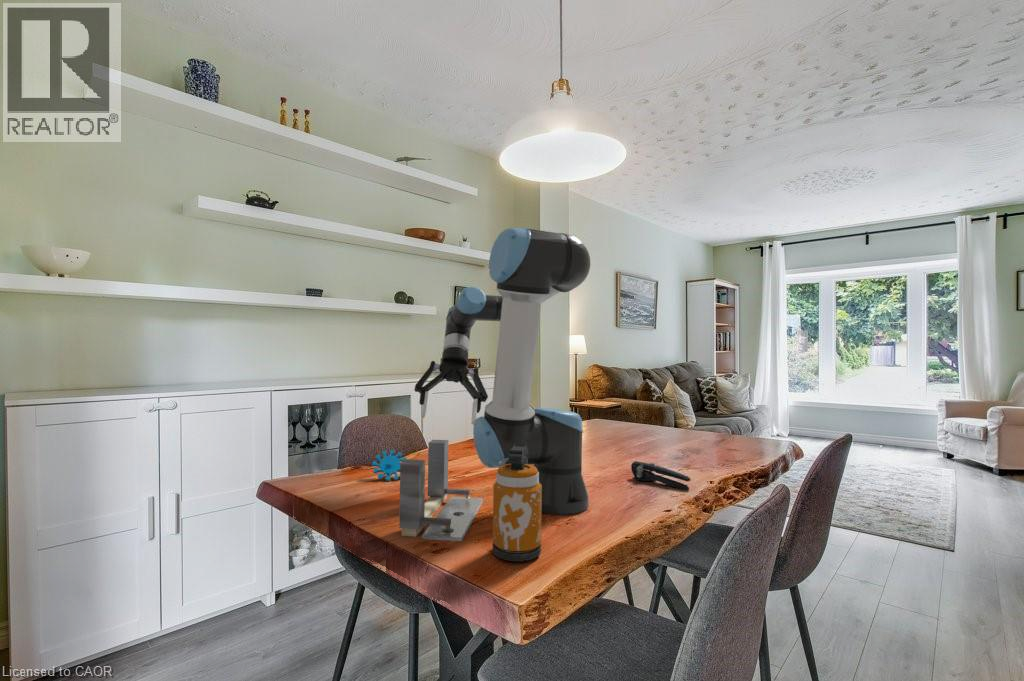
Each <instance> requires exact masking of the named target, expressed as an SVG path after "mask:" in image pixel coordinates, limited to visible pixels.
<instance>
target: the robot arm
mask: <svg viewBox="0 0 1024 681" xmlns="http://www.w3.org/2000/svg"><path fill="white" fill-rule="evenodd" d="M488 269H489V276H490V279H491V280H492V281H493V282H495V283H496V291H497V292H498V293H499V294H500V295H491V294H490V295H489V294H488V295H487V294H485V293H484V291H483V290H481V289H480V288H477V287H475V286H467V287H465V288H464V289H463V290H462V291H460V293H459V295H458V297H457V299H456V300H455V304H454V305H453V306H451V307H449V309H448V310H447V316H446V318H445V320H446V321H445V322H446V323H445V331H444V340H443V348H442V354H441V355H442V356H441V363H436V361H435V360H432V361H430V364H429V367H428V369H426V371H425V372H424V373H423V374H422V376H421V377H420V378H419V379H418V381H417V382H416V384H415V386H414V392H416V393H419V396H420V397H419V401H418V402H419V405H421V406H422V410H421V418H423V419H424V418H425V416H426V413H427V406H428V397H429V391H431V390H432V389H433V388H435V387H436V386H437V385H438V384H440V383H441V382H443V381H444V380H446V381H447V382H454V383H460V385H462V386H463V387H464V388H465V389H466V391H467V392H468V394H469V395H470V397H472V399H473V401H472V409H471V411H472V412H471V425H472V426H473V427H472V428H473V430H472V431H473V433H472V434H473V442H474V445H475V446H474V447H475V450H476V453H477V457H478V459H479V460H480V462H481V463H482V465H483V466H485V467H486V468H489V469H499V467H500V466H502V465H505V464H511V463H510V460H509V461H507V462H505V463H502V464H499V462H500V461H502V460H504V459H506V458H508V456H509V454H510V449H512V448H513V446H514V443H515V445H516V446H519V447H525V444H526V445H527V449H528V464H529V465H532V466H534V467H536V468H537V470H538V472H539V483H540V484H541V485H542V506H541V514H542V513H543V514H548V515H573V514H574V515H576V514H580V513H582V512H584V511H586V510H588V509H589V503H590V502H589V500H590V499H589V497H590V496H589V493H588V490H587V487H586V482H585V481H584V476H583V473H582V472H583V470H582V467H583V466H582V465H583V464H582V463H583V461H582V460H583V433H584V430H583V420H582V417H581V415H580V414H579V413H576V412H574V411H570V410H565V409H558V408H557V409H556V408H550V407H535V408H534V409H533V407H532V406H531V404H530V402H531V394H532V386H533V379H534V378H533V377H534V368H535V361H536V354H537V353H536V352H537V341H538V334H539V325H540V317H541V307H542V304H543V303H544V302H546V301H548V300H550V299H551V298H553V297H554V296H556V295H558V294H559V293H568V292H571V291H573V290H574V289H575V288H578V287H579V286H580V285H582V283H583V282H584V281H585V280H586V278H587V277H588V275H589V274H590V273H589V272H590V269H591V256H590V253H589V251H588V248H587V247H586V245H585V244H584V243H583V242H582V241H581V240H580V239H578V238H577V237H576V236H573V235H572V234H568V233H562V232H555V231H554V232H553V231H547V230H546V231H545V230H541V229H534V228H526V227H508V228H505V229H504V230H502V231H501V232H500V233H499V234H498V236H497V237H496V239H495V241H494V242H493V245H492V248H491V251H490V255H489V260H488ZM477 321H478V322H479V321H480V322H481V321H483V322H486V321H487V322H488V321H489V322H499V332H498V341H497V351H496V359H495V360H496V361H495V369H494V370H495V371H494V380H493V390H492V398H491V401H490V402H489V403H488V404H486V405H485V406H484V413H483V415H482V416H479V417H477V415H478V413H480V411H481V408H482V402H483V403H486V401H487V400H488V398H489V396H488V393H487V391H486V389H485V386H484V385H483V382H482V380H481V378H480V376H479V375H480V374H479V368H477V367H475V368H474V369H469V367H468V363H469V351H470V338H471V330H472V327H473V326H474V325H475V323H476V322H477ZM437 370H439V372H440V373H439V374H438V375H436V376H435V377H434V378H433V379H432V380H430V381H429V382H428V383H426V382H427V381H428V379H429V378H430V376H432V374H433V373H434V372H436V371H437ZM468 375H469V376H470V377H471V378H472V382H473V384H474V385H475V386H474V385H473V384H472V382H471V381H470V379H469V377H468ZM424 384H425V385H424ZM526 457H527V453H526ZM507 460H508V459H507ZM505 461H506V460H505ZM503 462H504V461H503ZM525 464H526V462H525Z"/></svg>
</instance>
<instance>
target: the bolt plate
mask: <svg viewBox="0 0 1024 681" xmlns="http://www.w3.org/2000/svg"><path fill="white" fill-rule="evenodd" d="M483 502H484V498H483V497H471V496H470V498H466V496H452V495H451V496H450V497H449V499H448V500H447V501H446V503H445V504H444V506H443V507H442V508H441V509H440V511H439V512H438V514H437V515H436V516H435V517H434V518H445V519H451V525H450V529H448V530H447V529H445V526H443V525H428V527H427V528H425V530H424V532H423V533H422V535H421V540H431V541H446V542H447V541H450V542H463V540H464V538H465V536H466V534H467V532H468V530H469V528H470V527H471V525H472V523H473V521H474V520H475V517H476V515H477V513H478V511H479V510H480V507H481V506H482V503H483Z"/></svg>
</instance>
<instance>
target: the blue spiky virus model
mask: <svg viewBox="0 0 1024 681" xmlns="http://www.w3.org/2000/svg"><path fill="white" fill-rule="evenodd" d="M389 452H390V453H389V455H388V456H387V454H388V451H387V450H383V451H382V452H381V455H382V457H383V458H382V459H381V455H380V454H376V455H375V460H373V462H372V464H371V465H372V467H374V468H373V474H377V473H378V474H377V478H378V479H379V480H382V479H383V478H384V477H385V476H386V475H387V476H386V477H385V479H384V480H385V481H386V482H390V481H391V477H392V476H393V475H394V476H393V480H394V481H397V480H398V481H399V479H400V476H399V475H398V473H400V463H402V462H403V461H405V460H406V459H407V457H405V456H404V457H402V456H403V453H402V452H401V451H399V452H398V453H397V454H396V455H395V453H396V450H395V449H390V451H389ZM393 455H394V456H393ZM376 460H377V461H378V462H379V463H378V462H377V461H376ZM388 475H389V476H388Z"/></svg>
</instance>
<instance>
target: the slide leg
mask: <svg viewBox="0 0 1024 681" xmlns="http://www.w3.org/2000/svg"><path fill="white" fill-rule="evenodd" d="M427 447H428V448H427V450H428V453H427V454H428V456H427V460H428V461H427V497H430V496H433V497H444V496H445V495H446V494H447V495H458V496H459V495H460V496H461V495H462V496H465V497H466V498H470V497H471V496H470V495H471V489H466V488H463V489H462V488H449V487H448V486H449V484H448V483H449V439H431V441H429V442H428V446H427Z"/></svg>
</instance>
